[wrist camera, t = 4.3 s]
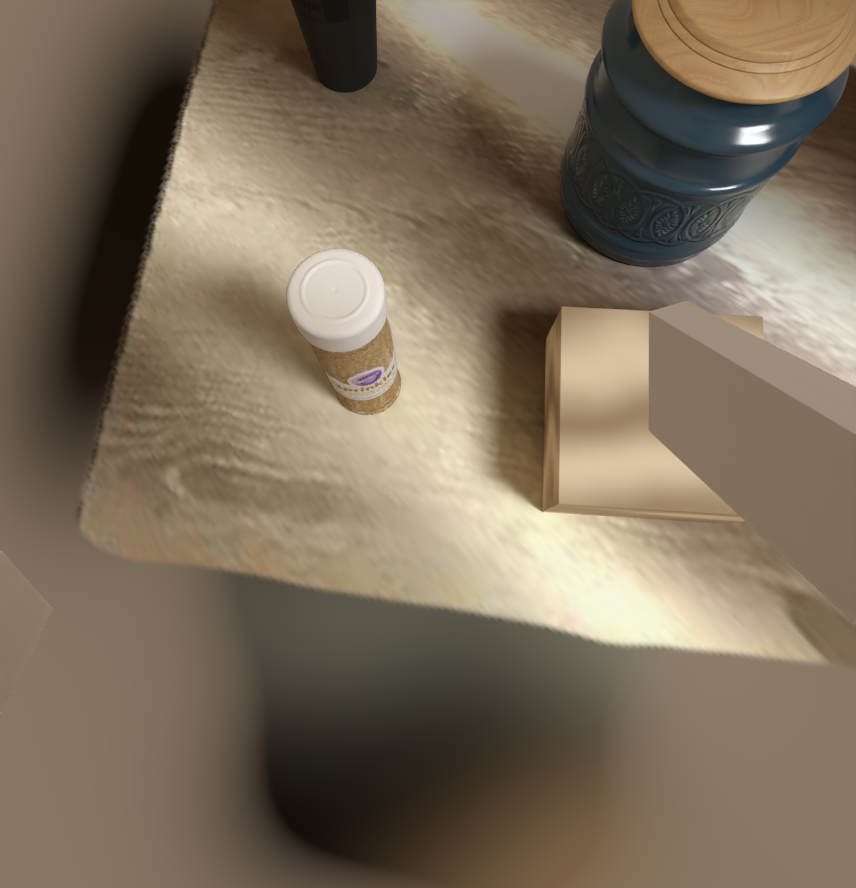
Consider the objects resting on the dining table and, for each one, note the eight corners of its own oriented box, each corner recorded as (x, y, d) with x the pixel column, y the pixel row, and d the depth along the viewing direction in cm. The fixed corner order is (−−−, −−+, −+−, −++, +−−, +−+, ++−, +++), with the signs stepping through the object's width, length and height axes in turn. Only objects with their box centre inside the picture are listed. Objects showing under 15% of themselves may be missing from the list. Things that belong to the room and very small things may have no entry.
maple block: (545, 339, 39) (561, 306, 34) (720, 348, 38) (762, 316, 34) (542, 511, 36) (558, 503, 31) (729, 523, 36) (775, 517, 31)
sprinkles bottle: (361, 429, 38) (321, 356, 24) (323, 378, 38) (263, 281, 25) (416, 390, 38) (404, 298, 25) (376, 340, 39) (346, 226, 26)
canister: (559, 272, 40) (653, 49, 23) (552, 117, 43) (630, -187, 25) (743, 272, 40) (978, 46, 22) (723, 116, 42) (920, -192, 25)
